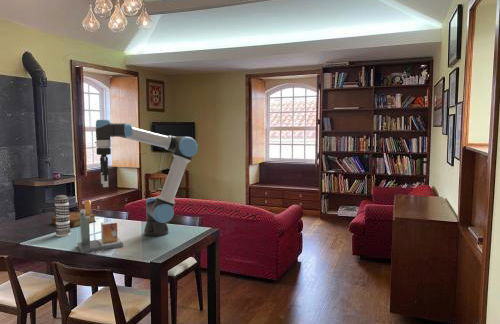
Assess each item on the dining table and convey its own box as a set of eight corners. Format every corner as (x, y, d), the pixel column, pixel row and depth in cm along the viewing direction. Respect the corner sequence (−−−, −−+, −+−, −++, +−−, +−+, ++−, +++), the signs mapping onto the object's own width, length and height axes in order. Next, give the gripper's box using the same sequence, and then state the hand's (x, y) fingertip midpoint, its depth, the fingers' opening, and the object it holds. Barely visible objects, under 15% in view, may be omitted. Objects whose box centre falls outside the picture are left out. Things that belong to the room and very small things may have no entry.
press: (116, 240, 235) (115, 209, 233) (123, 246, 222) (121, 213, 221) (77, 246, 224) (75, 213, 222) (81, 253, 211) (79, 218, 209)
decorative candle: (53, 237, 243) (50, 197, 240) (58, 232, 252) (56, 194, 249) (68, 236, 244) (66, 196, 242) (73, 232, 253) (71, 194, 251)
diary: (51, 224, 275) (51, 216, 274) (74, 219, 291) (74, 211, 291) (73, 228, 264) (73, 220, 264) (96, 222, 281) (95, 214, 280)
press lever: (79, 213, 222) (79, 196, 221) (87, 212, 224) (86, 195, 223) (84, 219, 207) (83, 201, 206) (92, 218, 209) (92, 200, 208)
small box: (103, 242, 220) (102, 224, 219) (101, 240, 225) (100, 222, 224) (117, 240, 224) (117, 222, 223) (115, 238, 229) (115, 220, 228)
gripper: (94, 146, 228) (96, 182, 230) (97, 148, 205) (99, 188, 207) (108, 146, 231) (109, 182, 233) (113, 148, 208) (114, 188, 210)
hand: (104, 185), depth 220 cm, fingers open, 13 cm apart
